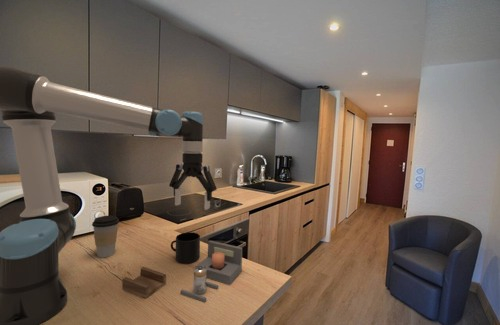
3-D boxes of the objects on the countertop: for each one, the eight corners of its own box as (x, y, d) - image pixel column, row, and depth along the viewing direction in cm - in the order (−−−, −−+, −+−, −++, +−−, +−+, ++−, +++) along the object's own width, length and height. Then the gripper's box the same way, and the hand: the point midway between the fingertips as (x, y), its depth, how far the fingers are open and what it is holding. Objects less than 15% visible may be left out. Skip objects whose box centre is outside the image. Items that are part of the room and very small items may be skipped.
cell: (201, 296, 71) (201, 271, 70) (190, 292, 72) (190, 268, 72) (208, 289, 74) (209, 265, 74) (198, 285, 76) (198, 262, 75)
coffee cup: (88, 260, 89) (87, 222, 88) (97, 250, 98) (97, 215, 97) (115, 258, 91) (115, 221, 90) (122, 248, 100) (122, 214, 99)
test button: (220, 270, 80) (220, 258, 80) (209, 267, 82) (209, 256, 82) (226, 264, 84) (226, 253, 84) (216, 261, 86) (216, 251, 86)
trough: (146, 298, 69) (146, 287, 68) (122, 289, 73) (122, 278, 72) (165, 284, 76) (165, 274, 76) (143, 276, 80) (143, 266, 80)
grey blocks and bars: (212, 304, 67) (212, 275, 66) (173, 291, 72) (174, 263, 72) (241, 271, 85) (242, 247, 85) (209, 262, 91) (209, 240, 90)
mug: (175, 251, 99) (176, 230, 99) (202, 254, 98) (203, 233, 97) (165, 262, 90) (165, 239, 89) (194, 265, 89) (195, 242, 88)
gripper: (226, 153, 88) (224, 208, 90) (172, 151, 97) (172, 201, 99) (216, 154, 81) (215, 213, 83) (159, 151, 90) (160, 205, 92)
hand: (192, 206), depth 91 cm, fingers open, 13 cm apart
